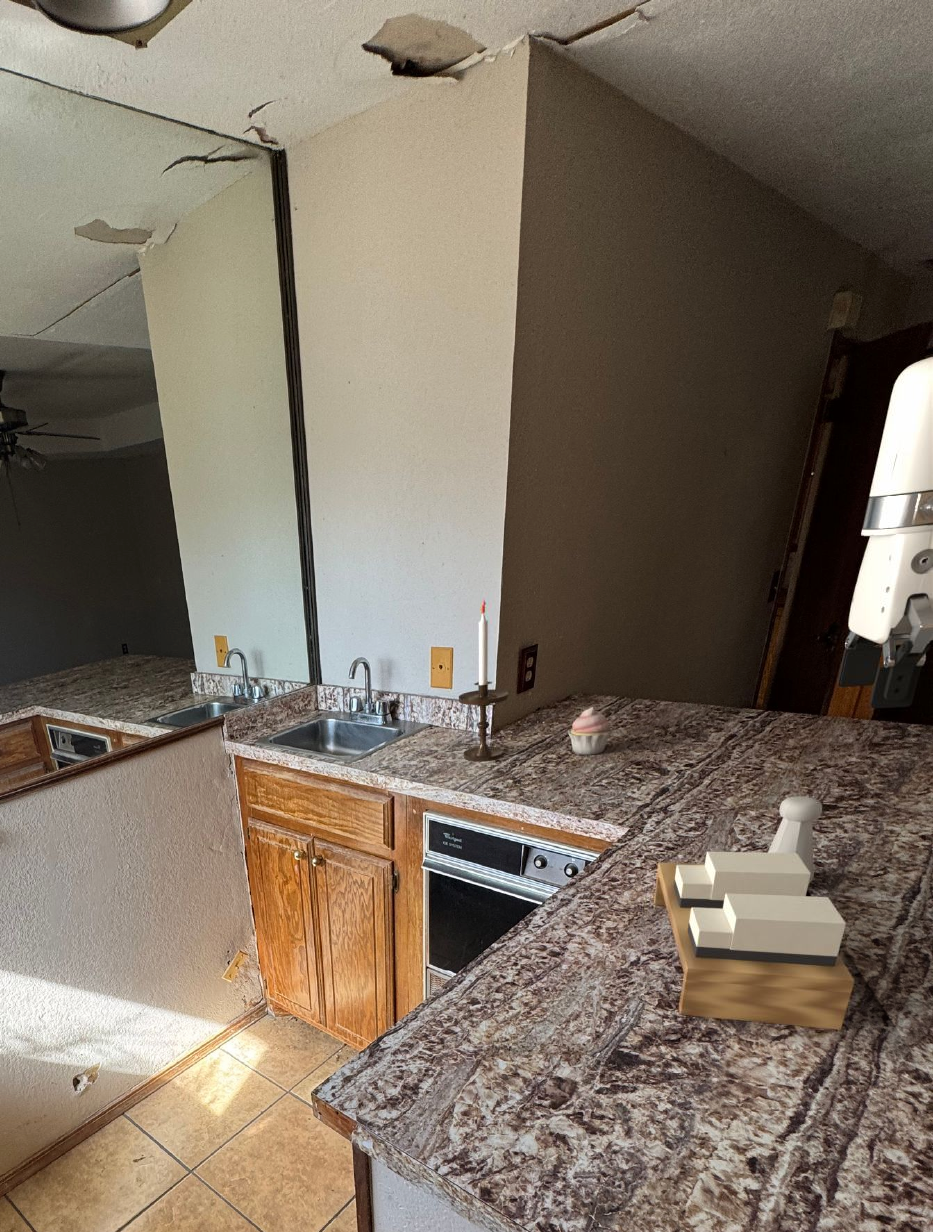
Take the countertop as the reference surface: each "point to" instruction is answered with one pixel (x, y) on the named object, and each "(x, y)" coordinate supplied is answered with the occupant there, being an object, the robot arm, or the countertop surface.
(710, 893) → the trainer
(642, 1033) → the countertop surface
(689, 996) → the shoe shelf
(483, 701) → the candlestick
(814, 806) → the salt shaker
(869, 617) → the robot arm
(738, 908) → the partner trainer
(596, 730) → the cupcake
